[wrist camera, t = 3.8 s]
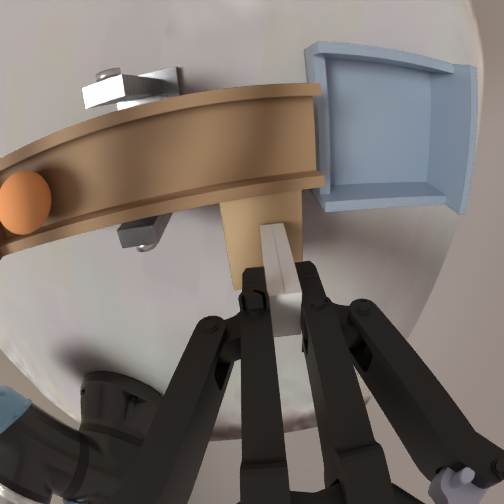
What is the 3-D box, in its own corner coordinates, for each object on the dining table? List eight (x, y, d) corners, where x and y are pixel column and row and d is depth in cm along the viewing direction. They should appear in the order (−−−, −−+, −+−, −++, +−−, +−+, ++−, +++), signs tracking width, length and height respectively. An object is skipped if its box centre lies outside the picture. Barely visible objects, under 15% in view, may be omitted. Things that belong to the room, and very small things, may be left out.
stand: (143, 209, 23) (108, 259, 16) (117, 83, 17) (62, 85, 10) (198, 200, 23) (181, 251, 16) (177, 67, 17) (144, 54, 10)
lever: (47, 315, 19) (36, 342, 16) (-16, 168, 12) (-43, 184, 9) (311, 267, 21) (328, 293, 18) (306, 84, 14) (330, 82, 12)
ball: (0, 250, 11) (40, 240, 11) (-22, 193, 9) (16, 174, 9) (29, 222, 14) (68, 211, 14) (13, 172, 12) (52, 155, 12)
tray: (312, 193, 23) (333, 224, 18) (303, 49, 17) (327, 36, 12) (428, 187, 23) (465, 214, 18) (432, 65, 17) (476, 67, 12)
